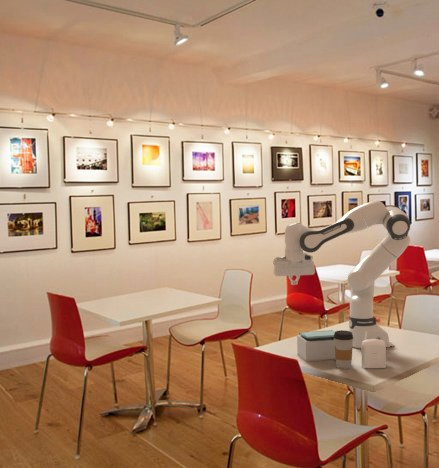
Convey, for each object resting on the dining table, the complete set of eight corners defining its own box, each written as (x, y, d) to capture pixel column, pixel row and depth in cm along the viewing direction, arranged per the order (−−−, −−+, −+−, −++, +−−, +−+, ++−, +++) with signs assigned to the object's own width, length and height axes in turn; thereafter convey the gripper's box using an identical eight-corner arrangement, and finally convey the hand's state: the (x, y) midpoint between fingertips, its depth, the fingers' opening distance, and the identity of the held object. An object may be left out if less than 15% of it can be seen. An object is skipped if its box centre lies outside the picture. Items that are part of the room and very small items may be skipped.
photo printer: (362, 369, 228) (362, 340, 227) (360, 365, 232) (360, 337, 231) (387, 369, 227) (387, 340, 226) (384, 365, 231) (384, 337, 230)
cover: (332, 332, 254) (331, 330, 254) (342, 336, 241) (342, 334, 241) (298, 334, 251) (298, 332, 251) (307, 338, 239) (307, 336, 239)
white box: (333, 351, 254) (333, 332, 254) (343, 358, 242) (343, 339, 242) (297, 353, 251) (297, 335, 251) (305, 361, 239) (305, 341, 239)
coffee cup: (353, 370, 227) (353, 335, 226) (333, 369, 228) (333, 334, 227) (353, 364, 235) (352, 330, 234) (333, 363, 236) (333, 329, 235)
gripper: (275, 257, 255) (275, 286, 256) (315, 256, 259) (316, 284, 260) (271, 256, 261) (272, 284, 262) (311, 255, 265) (311, 282, 266)
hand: (294, 284), depth 261 cm, fingers closed
